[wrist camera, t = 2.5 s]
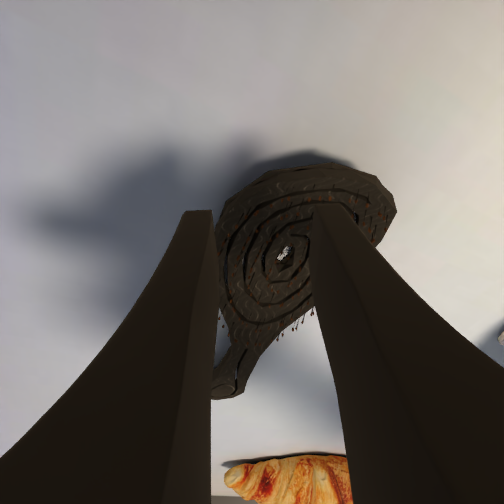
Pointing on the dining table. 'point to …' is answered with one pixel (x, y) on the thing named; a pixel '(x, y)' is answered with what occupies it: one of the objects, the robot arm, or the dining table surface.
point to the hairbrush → (273, 242)
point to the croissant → (293, 480)
